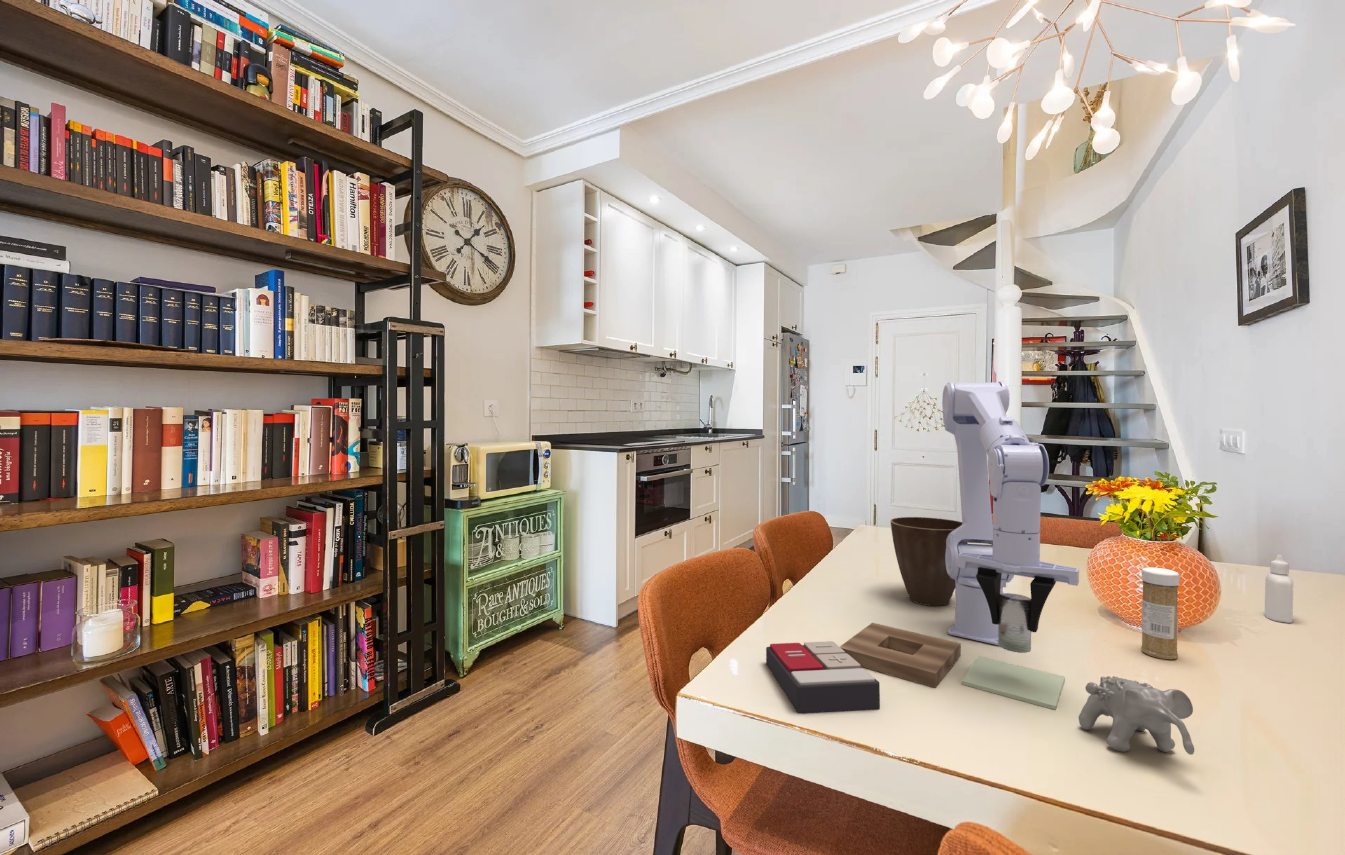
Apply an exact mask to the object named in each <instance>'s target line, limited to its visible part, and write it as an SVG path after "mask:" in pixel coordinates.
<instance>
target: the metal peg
mask: <svg viewBox="0 0 1345 855" xmlns="http://www.w3.org/2000/svg"><path fill="white" fill-rule="evenodd" d="M1030 617H1031V597H1028V596H1026V595H1023V594H1019V593H1018V594H1017V593H1009V592H1007V593H1006V592H1005V593H1004V592H1003V594H999V613H998V645H997V646H999V647H1000V648H1001V649H1003V650H1005V651H1008V652H1011V653H1012V652H1013V653H1018V654H1026V653H1030V652H1031V651H1032V632H1030Z"/></svg>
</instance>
